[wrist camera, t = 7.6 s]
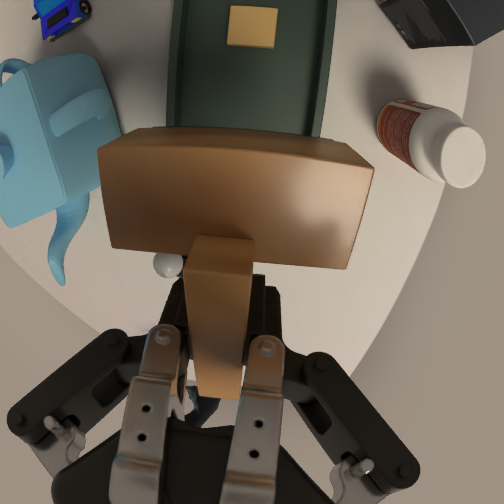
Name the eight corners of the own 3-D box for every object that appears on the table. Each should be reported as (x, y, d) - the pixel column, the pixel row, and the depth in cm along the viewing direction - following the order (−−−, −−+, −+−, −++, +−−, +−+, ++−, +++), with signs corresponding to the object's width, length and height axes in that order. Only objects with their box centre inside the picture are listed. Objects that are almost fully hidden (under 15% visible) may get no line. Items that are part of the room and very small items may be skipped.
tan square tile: (277, 11, 17) (278, 8, 16) (273, 49, 20) (273, 47, 19) (232, 8, 17) (230, 5, 16) (228, 45, 20) (226, 44, 19)
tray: (334, -52, 13) (340, -62, 10) (311, 153, 26) (316, 160, 24) (194, -61, 12) (188, -71, 10) (174, 141, 26) (165, 147, 24)
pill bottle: (393, 166, 26) (448, 214, 17) (363, 118, 23) (417, 144, 14) (434, 136, 23) (500, 172, 14) (407, 87, 21) (476, 101, 12)
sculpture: (170, 336, 43) (147, 418, 30) (232, 329, 41) (221, 422, 28) (192, 364, 47) (177, 439, 35) (249, 359, 45) (243, 441, 33)
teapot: (20, 151, 25) (-52, 196, 14) (63, 35, 18) (-28, 40, 7) (115, 221, 31) (57, 296, 20) (185, 104, 24) (118, 129, 12)
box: (410, 50, 18) (475, 47, 10) (376, 5, 16) (430, -22, 7) (454, 27, 15) (519, 23, 7) (424, -16, 13) (482, -36, 4)
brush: (149, 122, 12) (60, 168, 6) (338, 136, 12) (402, 192, 6) (164, 294, 18) (132, 383, 12) (299, 307, 18) (309, 403, 12)
